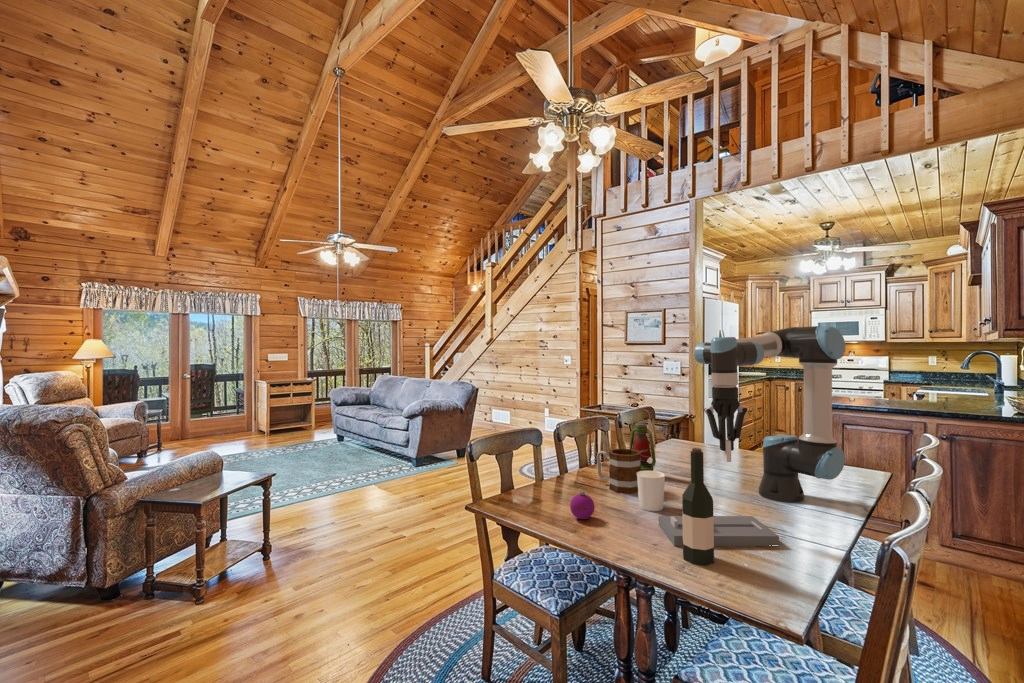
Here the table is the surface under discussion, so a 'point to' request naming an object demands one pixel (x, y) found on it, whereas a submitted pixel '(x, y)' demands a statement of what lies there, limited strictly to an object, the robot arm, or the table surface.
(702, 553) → the wine bottle
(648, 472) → the candle holder
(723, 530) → the panel
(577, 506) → the christmas ornament
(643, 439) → the lantern
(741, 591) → the table surface
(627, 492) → the mug
